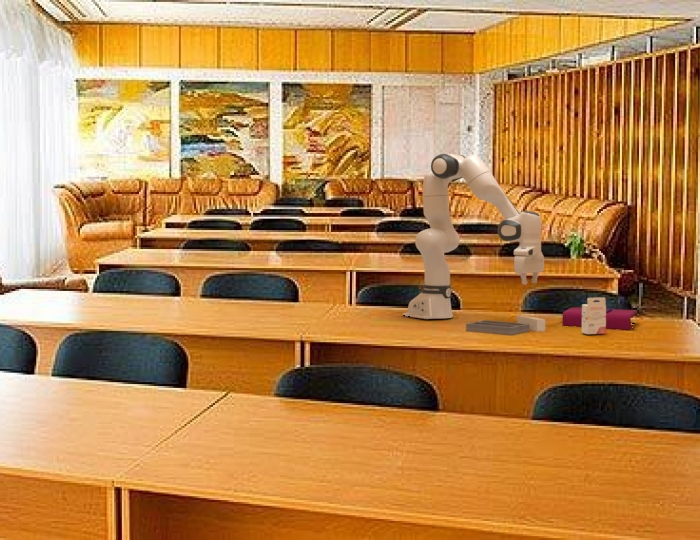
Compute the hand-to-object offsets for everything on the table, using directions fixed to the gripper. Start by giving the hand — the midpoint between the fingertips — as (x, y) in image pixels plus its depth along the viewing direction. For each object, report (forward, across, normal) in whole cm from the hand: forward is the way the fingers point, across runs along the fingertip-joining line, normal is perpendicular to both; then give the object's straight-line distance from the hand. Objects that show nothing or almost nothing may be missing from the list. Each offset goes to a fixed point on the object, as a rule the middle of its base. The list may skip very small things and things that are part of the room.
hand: (529, 283), depth 441 cm
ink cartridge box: (+19, -5, +27) cm, 33 cm away
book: (+20, -27, +20) cm, 39 cm away
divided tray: (+19, +14, -6) cm, 25 cm away
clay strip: (+19, -1, 0) cm, 19 cm away
